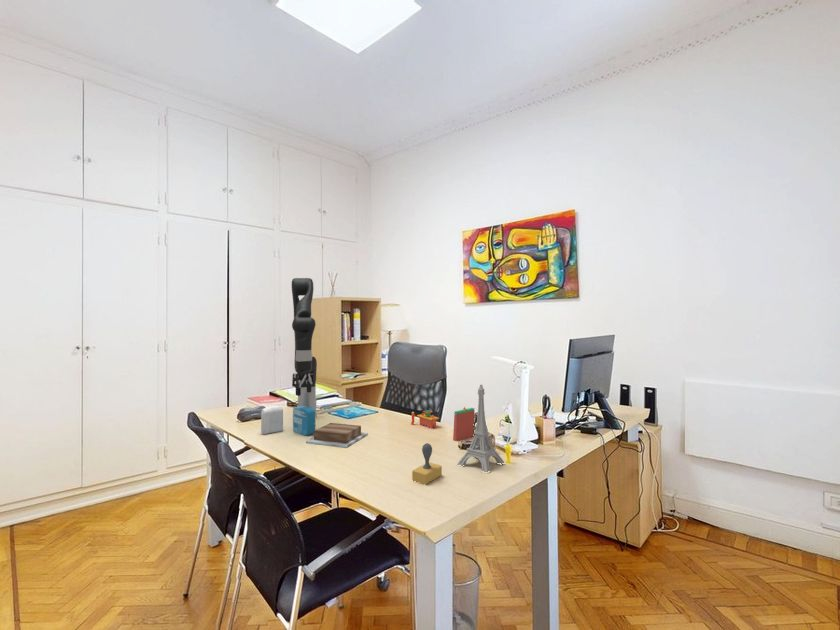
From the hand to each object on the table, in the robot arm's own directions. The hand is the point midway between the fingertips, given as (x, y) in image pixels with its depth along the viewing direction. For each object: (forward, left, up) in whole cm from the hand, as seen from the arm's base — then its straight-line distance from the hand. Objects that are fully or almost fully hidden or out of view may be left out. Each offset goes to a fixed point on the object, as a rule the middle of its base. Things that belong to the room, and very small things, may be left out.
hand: (303, 393), depth 197 cm
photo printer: (+4, -15, -19) cm, 24 cm away
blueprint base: (+3, +20, -18) cm, 27 cm away
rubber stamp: (+32, +72, -19) cm, 81 cm away
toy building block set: (-26, +60, -19) cm, 68 cm away
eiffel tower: (+13, +87, -19) cm, 90 cm away
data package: (0, 0, -19) cm, 19 cm away
